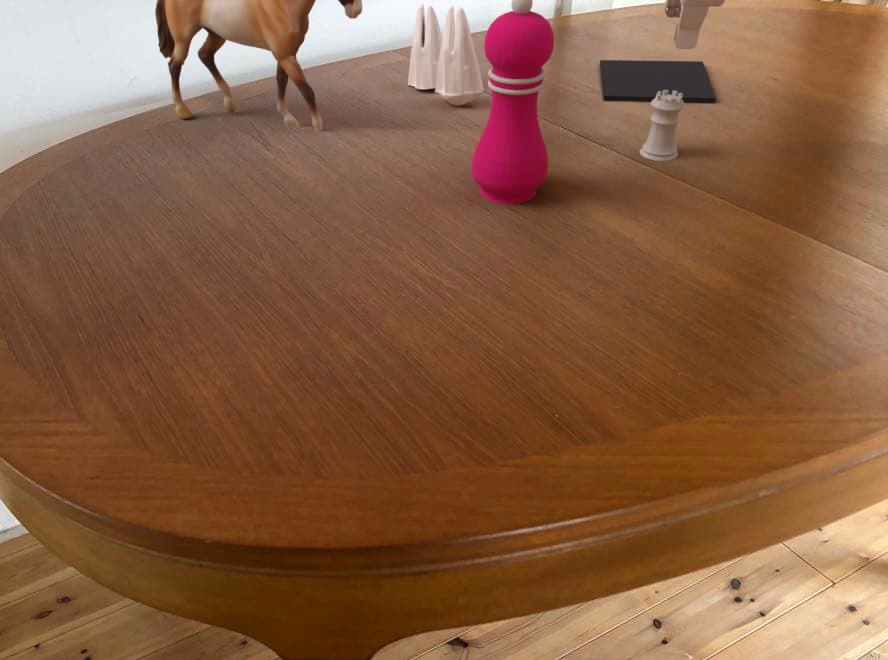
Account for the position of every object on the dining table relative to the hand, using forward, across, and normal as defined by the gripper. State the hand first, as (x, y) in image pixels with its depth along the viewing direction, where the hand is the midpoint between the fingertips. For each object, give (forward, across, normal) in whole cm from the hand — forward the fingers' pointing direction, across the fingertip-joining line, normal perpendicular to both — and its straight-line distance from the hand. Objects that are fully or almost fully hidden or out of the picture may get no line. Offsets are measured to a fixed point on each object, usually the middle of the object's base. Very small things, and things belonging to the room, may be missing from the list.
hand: (678, 30), depth 84 cm
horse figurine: (+15, +12, +45) cm, 49 cm away
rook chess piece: (+14, 0, 0) cm, 14 cm away
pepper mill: (+14, -10, +15) cm, 23 cm away
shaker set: (+15, +20, +24) cm, 34 cm away
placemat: (+14, +26, -2) cm, 30 cm away
